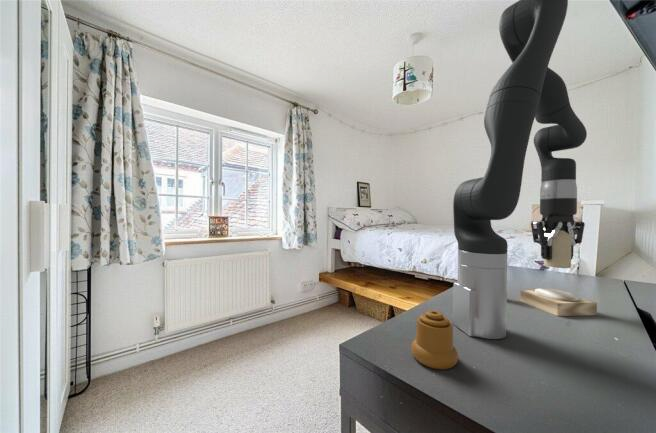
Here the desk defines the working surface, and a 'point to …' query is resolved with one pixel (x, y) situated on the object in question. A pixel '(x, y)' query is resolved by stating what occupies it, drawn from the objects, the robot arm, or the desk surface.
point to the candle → (560, 251)
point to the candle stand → (558, 302)
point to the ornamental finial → (434, 341)
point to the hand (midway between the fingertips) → (557, 258)
